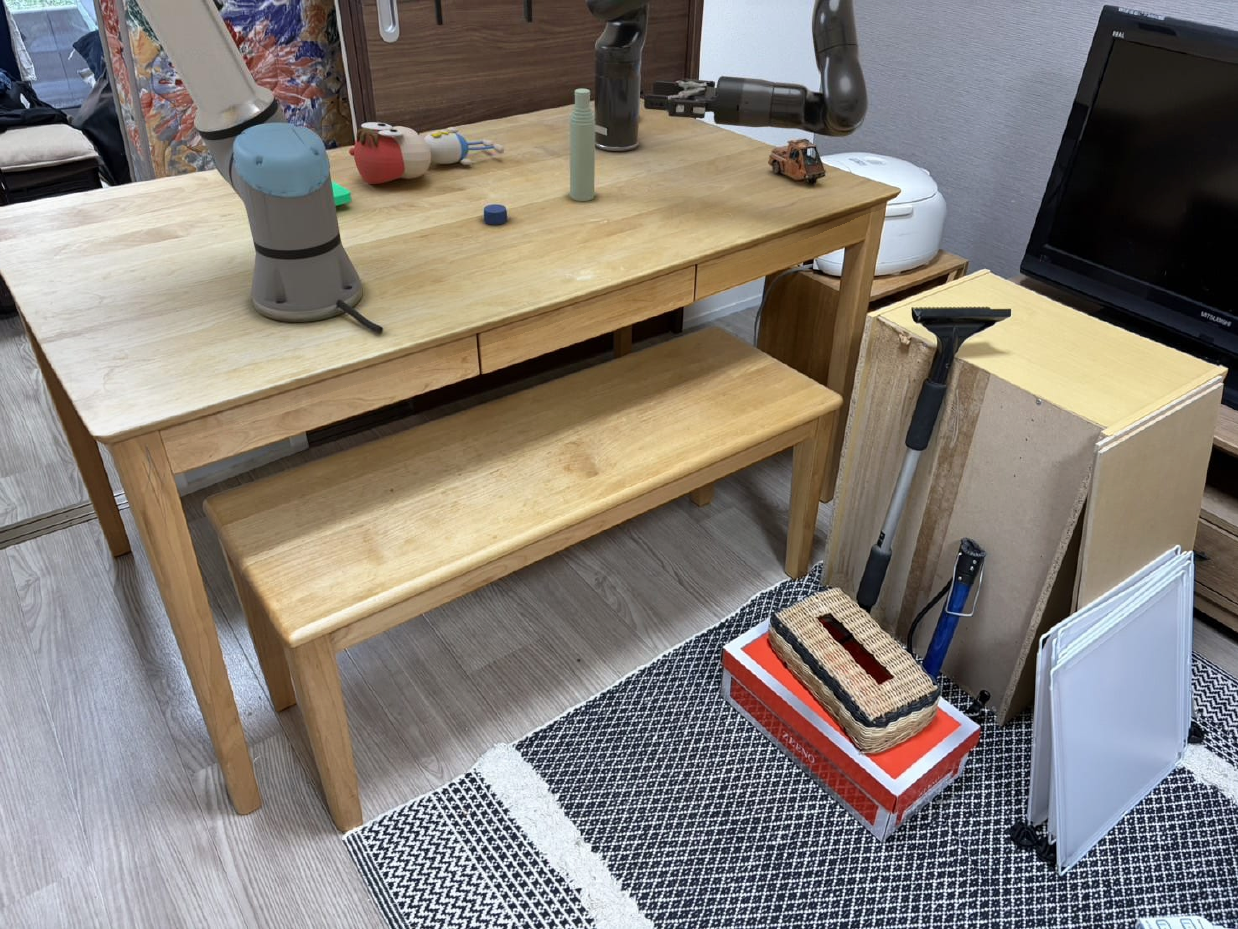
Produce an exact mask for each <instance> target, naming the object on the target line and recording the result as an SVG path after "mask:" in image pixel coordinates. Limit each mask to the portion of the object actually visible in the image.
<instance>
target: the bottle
mask: <svg viewBox="0 0 1238 929" xmlns="http://www.w3.org/2000/svg"><path fill="white" fill-rule="evenodd" d="M573 94H574V105H573V109H572V110H571V114H570V117H569V198H570V199H572V200H573V201H576V202H588V201H589V202H590V201H591V200H593V199H595V176H596V175H595V171H596V170H595V168H596V166H595V165H596V164H595V162H596V161H595V160H596V158H595V157H596V146H595V120H594V112H593V109H592V106H591V91H590V89H587V88H577V89H575V90H574V93H573Z"/></svg>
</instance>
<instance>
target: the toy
mask: <svg viewBox="0 0 1238 929" xmlns="http://www.w3.org/2000/svg"><path fill="white" fill-rule="evenodd" d="M360 127H361V128H359V129H358V130H357V131H356V136H355V138H356V140H355V143H354V147H351V148H350V149H349V150H348V153H349V155H350V156H353V159H354V163H355V166H356V168H357V171H358V173H359V175H360V176H361V178H362V180H363V181H364V182H365V183H367V184H370V185H377V184H383V183H388V182H391V181H394V180H398V179H400V178H401V179H406V180H410V179H416V178H419V177H421V176H422V175H424V174H425V173H426V172H427V170H428V169H429V168H430V164H431V163H435V164H439V165H449V164H454V163H457V162H460V164H462V165H463V166H465V165H466V166H467V165H468V166H469V165H471V164H472V163H473V161H472V159H470V158H466V157H467V156H468V153H469V151H483V150H484V151H485V150H492V149H493V150H494V151H495V152H497V153H498V154H503V153H505V147H504V146H503V145H502V144H499V143H493V141H492V140H490V139H485V138H484V139H482V140H480V141H473V142H472V141H469V142H468V141H467V140H466V139H465V137H463V135H461V134H459V133H458V132H459V129H458V128H457V127H455V126H450V127H447V128H444V129H441V130H437V131H433V132H429V133H427V134H426V135H425V136H422V135H421V133H420V132H419V131H418V130H416V129H413V128H410V127H407V126H406V125H403V126H401V125H396V126H392V125H390V124H388V123H384V122H377V121H376V122H373V121H371V122H364V123H362V124H361V125H360ZM476 145H477V146H478V145H483V146H478V147H477V146H476ZM469 146H470V147H469ZM471 146H472V147H471ZM473 146H474V147H473ZM475 146H476V147H475Z"/></svg>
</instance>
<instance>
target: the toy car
mask: <svg viewBox="0 0 1238 929" xmlns="http://www.w3.org/2000/svg"><path fill="white" fill-rule="evenodd" d="M786 143H787V144H788V145H783V146H777V147H774V148H773V149H772V150H771V153H770V154H769V156H768V157H769V158H768V161H767V164H768V165H769V166H770V167H771V169H772V172H773V174H776V175H782V176H785V177H787V178H789V179H791V180H794V181H796V182H805V181H807V184H809V185H811V186H814V185H815V184H816V183H817V181H818V180H819V179H822V178H824V177H826V172H827V170H826V169H825V166H824V164H823V161H822V158H821V157H820V153H819V151H818V149H817V147H818V146H817V145H816V144H814V143H812V142H810V140H809V139H807V138H798V139H792V140H791V139H790V140H788V141H786ZM812 149H814V152H815V157H813V156H812ZM808 150H810V151H809V153H810V154H808Z"/></svg>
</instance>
